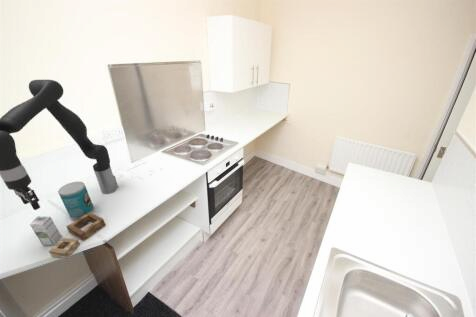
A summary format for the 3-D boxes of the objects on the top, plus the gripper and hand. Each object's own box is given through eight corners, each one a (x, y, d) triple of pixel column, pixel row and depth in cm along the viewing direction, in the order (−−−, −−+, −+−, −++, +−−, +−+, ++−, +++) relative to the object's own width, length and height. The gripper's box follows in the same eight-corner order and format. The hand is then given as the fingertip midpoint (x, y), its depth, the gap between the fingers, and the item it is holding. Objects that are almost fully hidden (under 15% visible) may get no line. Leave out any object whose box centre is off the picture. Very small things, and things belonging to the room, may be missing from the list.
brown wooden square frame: (91, 217, 123) (89, 212, 120) (105, 225, 118) (103, 219, 116) (69, 232, 113) (66, 226, 111) (83, 241, 109) (80, 234, 106)
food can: (66, 213, 125) (54, 188, 117) (88, 203, 134) (79, 178, 125) (75, 223, 119) (62, 197, 111) (98, 211, 128) (88, 186, 119)
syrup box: (62, 236, 111) (50, 215, 104) (54, 245, 106) (41, 224, 99) (50, 236, 111) (38, 215, 104) (42, 245, 106) (28, 224, 99)
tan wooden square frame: (65, 242, 108) (62, 237, 106) (80, 244, 107) (77, 239, 105) (51, 256, 101) (48, 251, 99) (67, 258, 100) (64, 253, 98)
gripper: (34, 175, 90) (50, 205, 98) (17, 167, 96) (33, 196, 103) (12, 185, 84) (30, 216, 92) (-5, 175, 90) (14, 205, 97)
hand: (32, 205), depth 98 cm, fingers open, 8 cm apart
